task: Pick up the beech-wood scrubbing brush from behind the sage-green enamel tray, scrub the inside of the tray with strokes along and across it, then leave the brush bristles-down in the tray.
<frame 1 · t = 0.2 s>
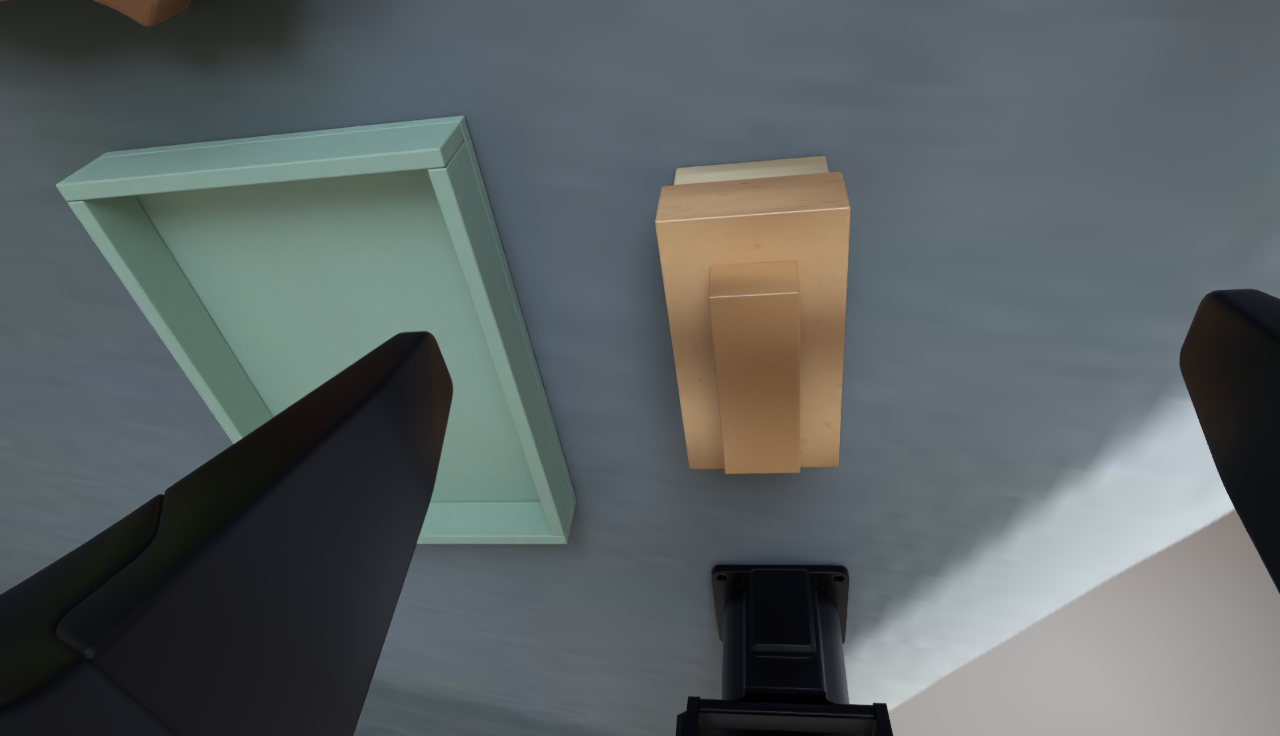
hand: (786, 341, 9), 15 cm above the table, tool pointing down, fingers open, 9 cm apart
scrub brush: (755, 290, 26), on the table
tray: (378, 353, 29), on the table
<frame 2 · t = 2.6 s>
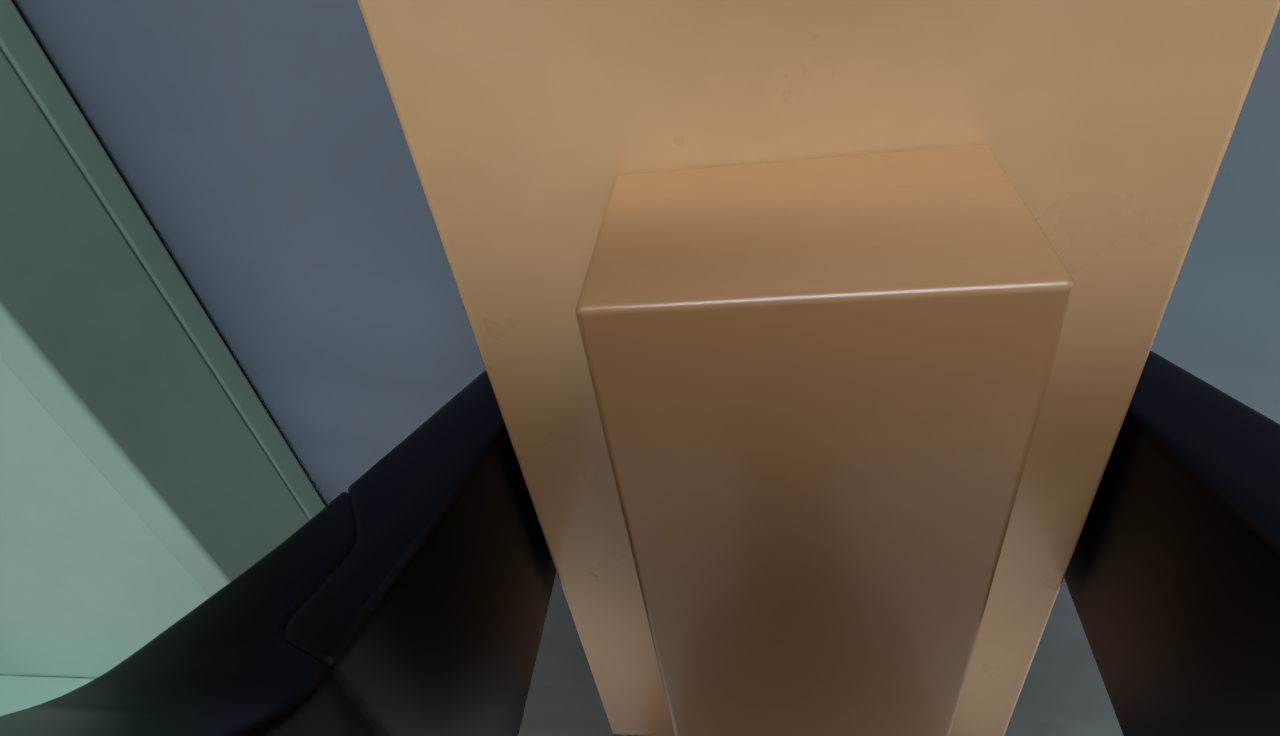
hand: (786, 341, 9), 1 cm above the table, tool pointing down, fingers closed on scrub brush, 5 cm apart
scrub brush: (779, 285, 10), on the table, touching gripper
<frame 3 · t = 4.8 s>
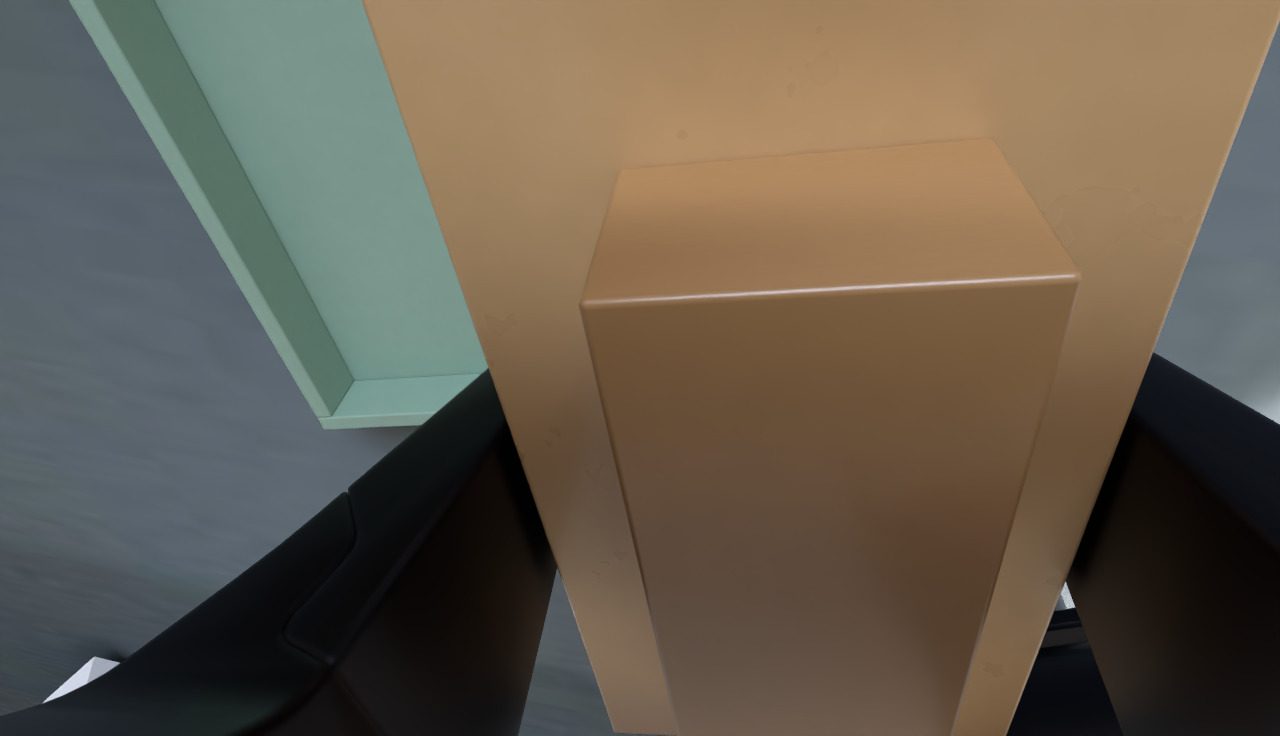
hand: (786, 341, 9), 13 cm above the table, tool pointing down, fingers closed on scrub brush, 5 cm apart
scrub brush: (781, 282, 10), point 11 cm above the table, touching gripper
tray: (427, 132, 21), on the table
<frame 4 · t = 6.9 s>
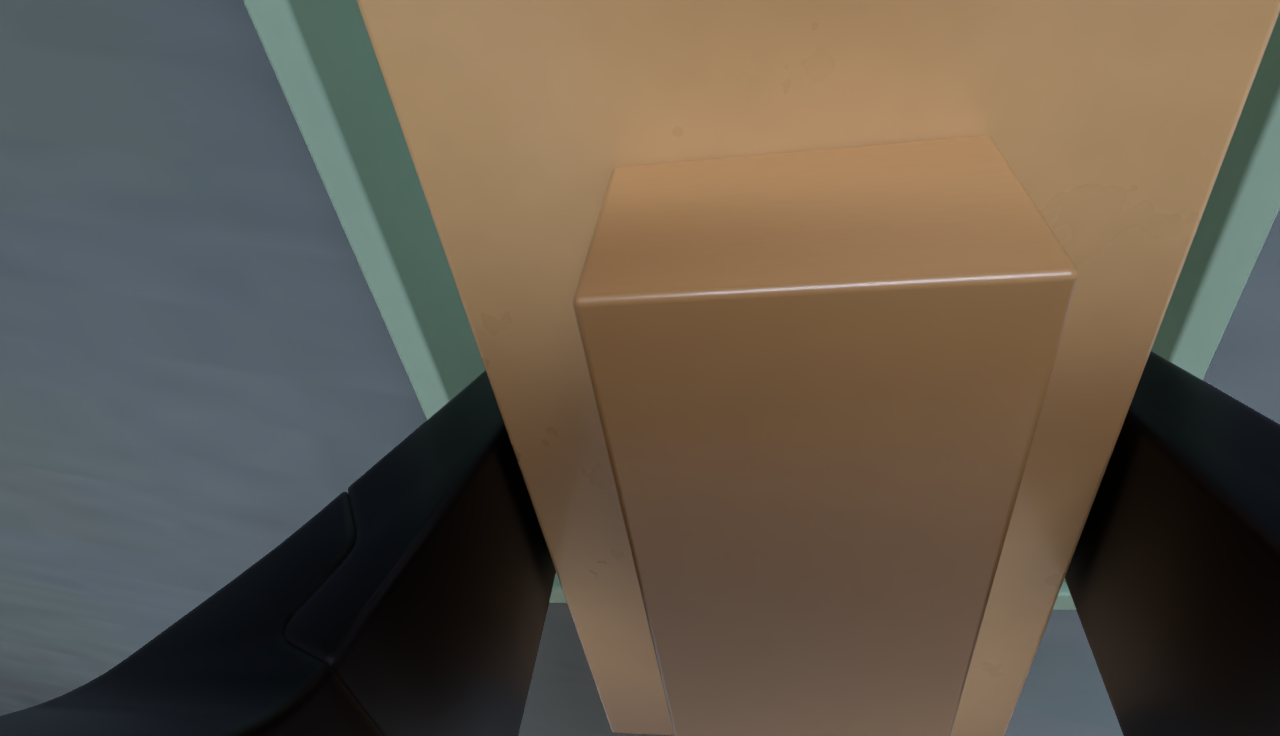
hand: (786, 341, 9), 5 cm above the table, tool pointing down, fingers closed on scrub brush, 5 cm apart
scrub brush: (779, 281, 10), point 3 cm above the table, touching gripper
tray: (768, 172, 12), on the table
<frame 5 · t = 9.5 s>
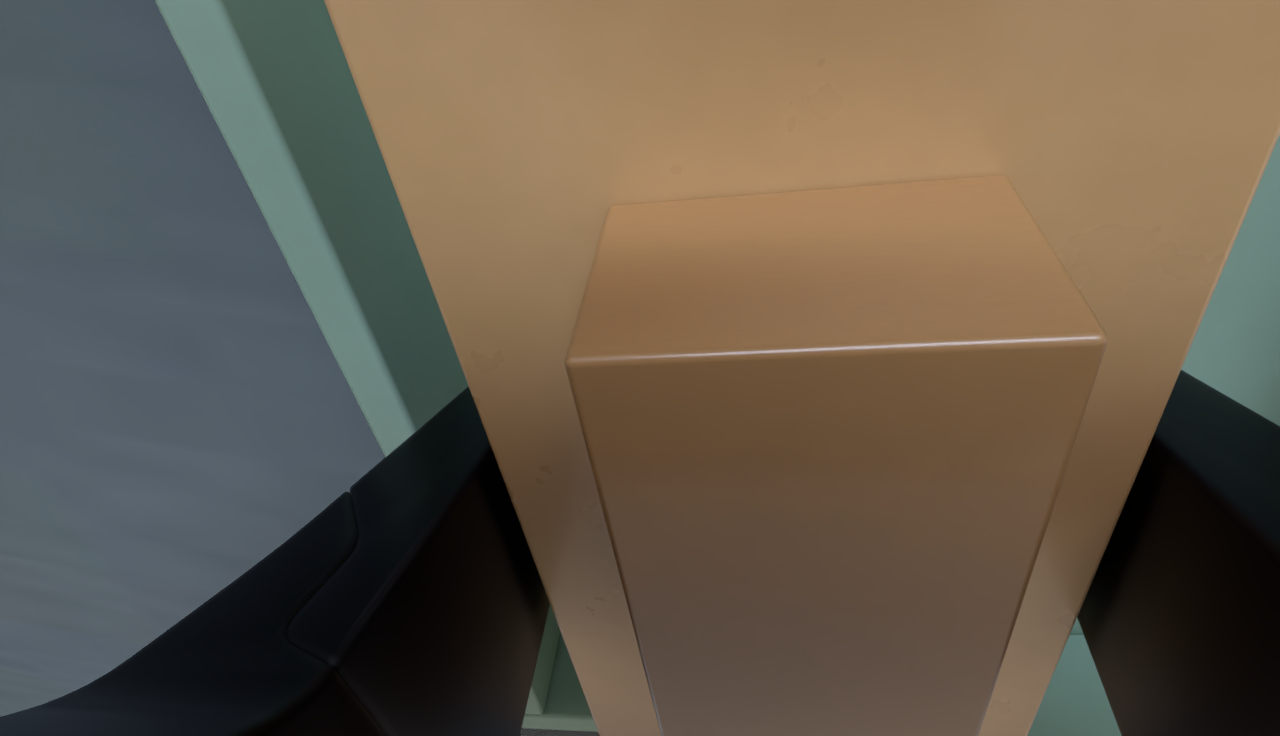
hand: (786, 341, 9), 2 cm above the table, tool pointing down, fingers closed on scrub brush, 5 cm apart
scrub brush: (781, 303, 10), point 1 cm above the table, touching gripper
tray: (873, 230, 10), on the table
when the fingers open (1 cm above the table, at t = 11.4 s): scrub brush stays where it is, resting on tray.
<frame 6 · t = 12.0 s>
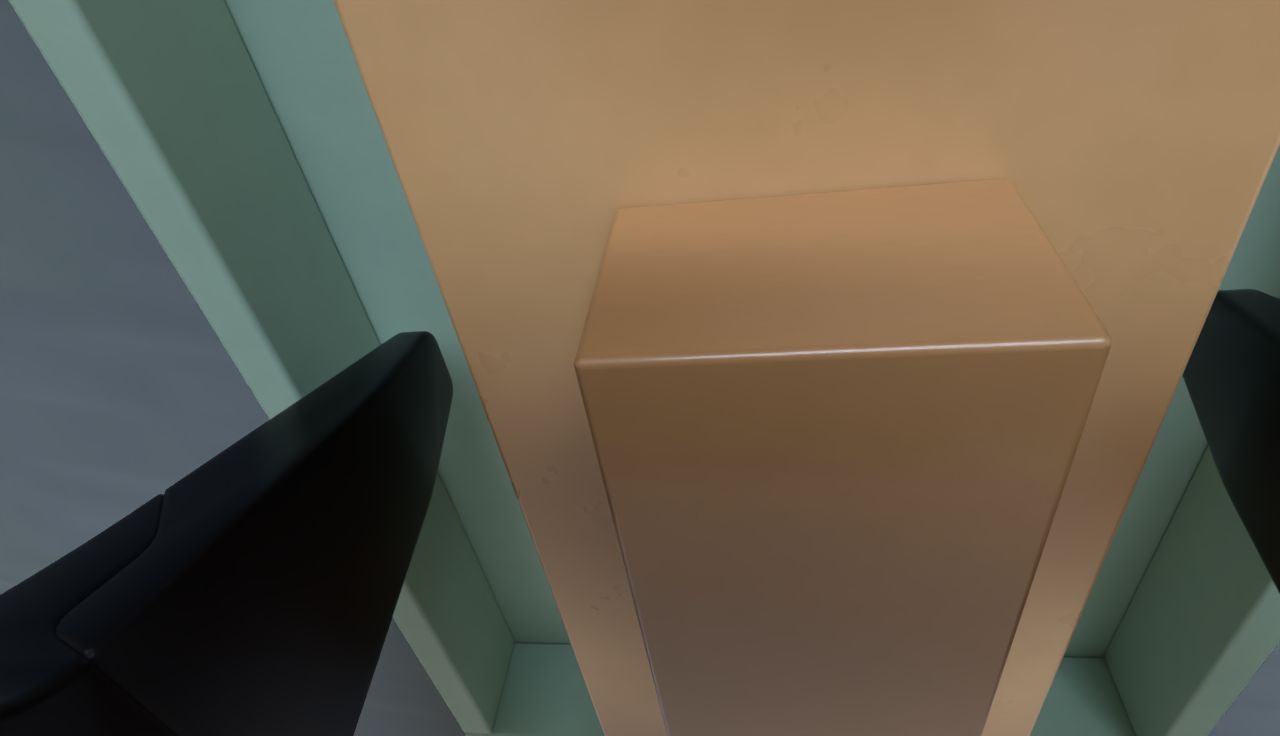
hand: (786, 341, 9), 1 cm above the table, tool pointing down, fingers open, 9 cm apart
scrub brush: (784, 304, 10), resting on tray
tray: (782, 280, 10), on the table
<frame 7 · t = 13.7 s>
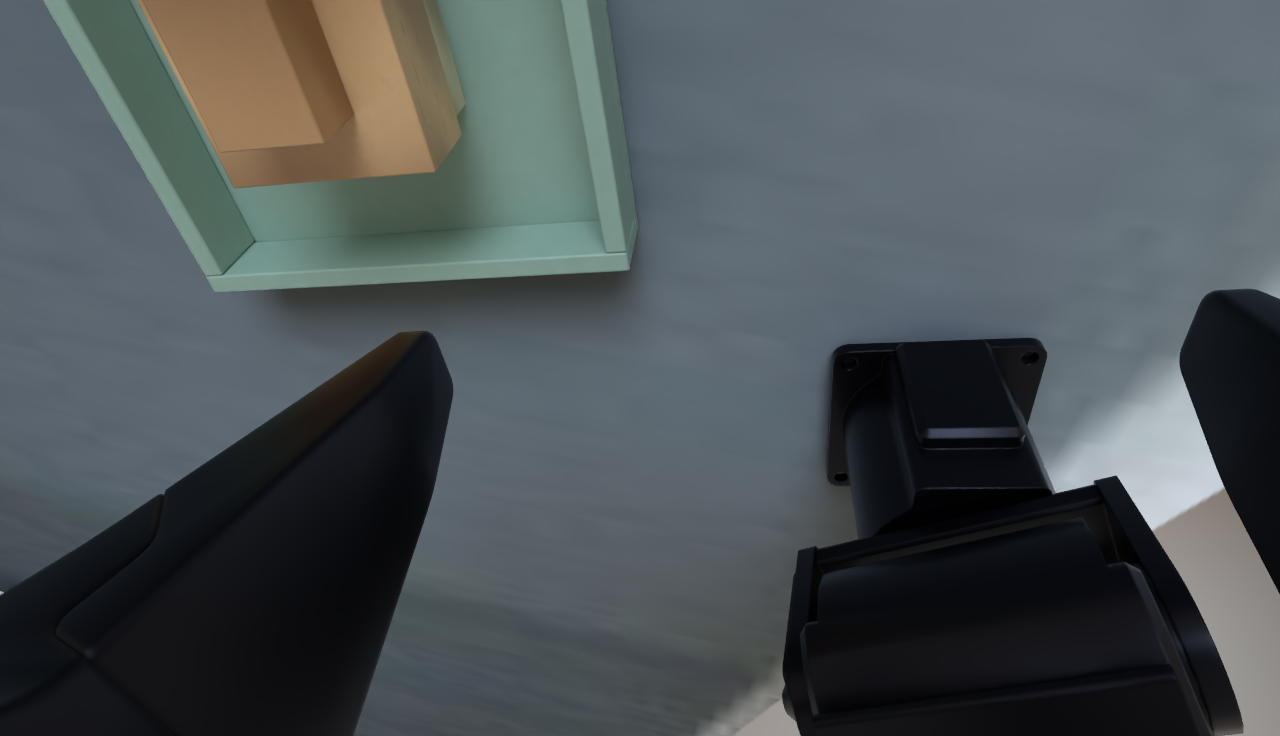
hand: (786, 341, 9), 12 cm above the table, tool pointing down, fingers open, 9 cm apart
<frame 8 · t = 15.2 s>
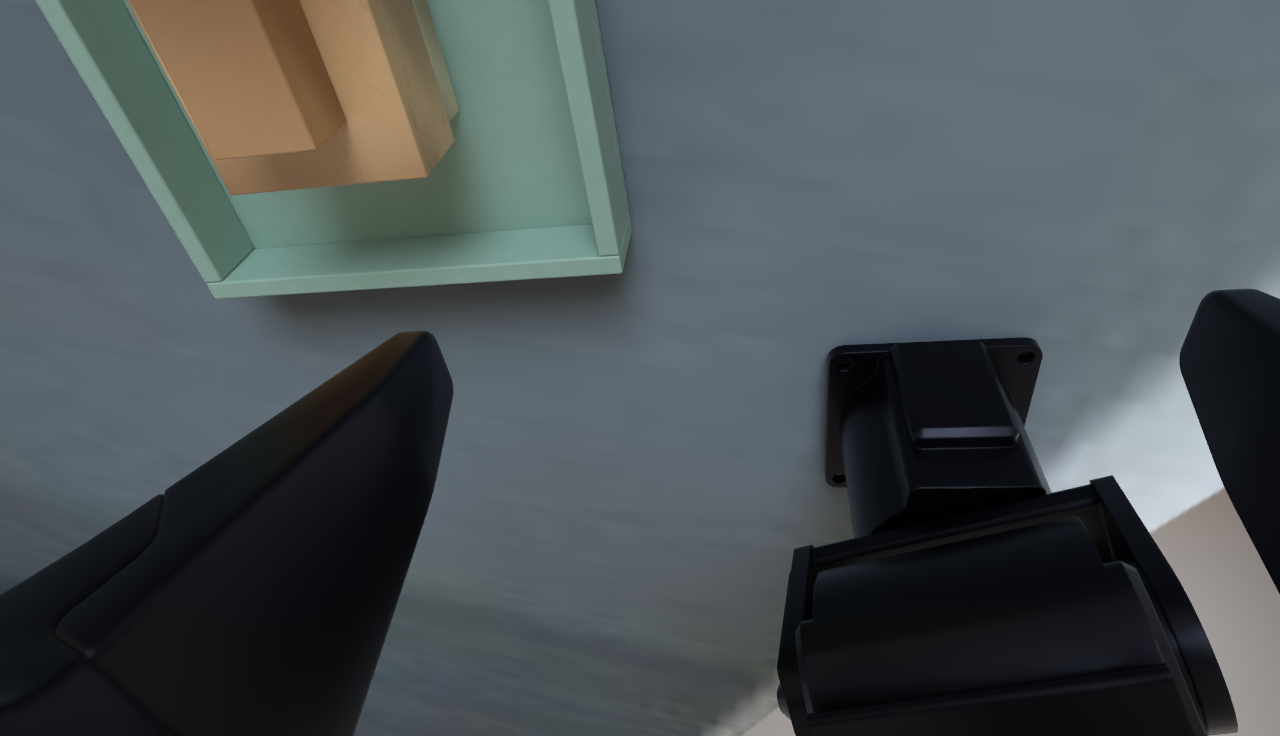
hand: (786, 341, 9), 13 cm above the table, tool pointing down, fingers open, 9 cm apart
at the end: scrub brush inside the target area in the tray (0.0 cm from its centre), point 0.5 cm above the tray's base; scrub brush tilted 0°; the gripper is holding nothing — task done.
